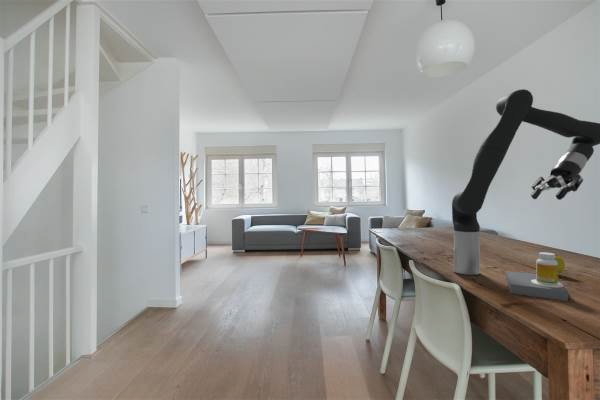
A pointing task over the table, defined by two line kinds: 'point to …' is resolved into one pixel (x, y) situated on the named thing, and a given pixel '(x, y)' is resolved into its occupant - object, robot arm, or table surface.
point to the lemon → (560, 264)
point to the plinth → (534, 286)
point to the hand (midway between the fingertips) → (545, 197)
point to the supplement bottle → (547, 269)
